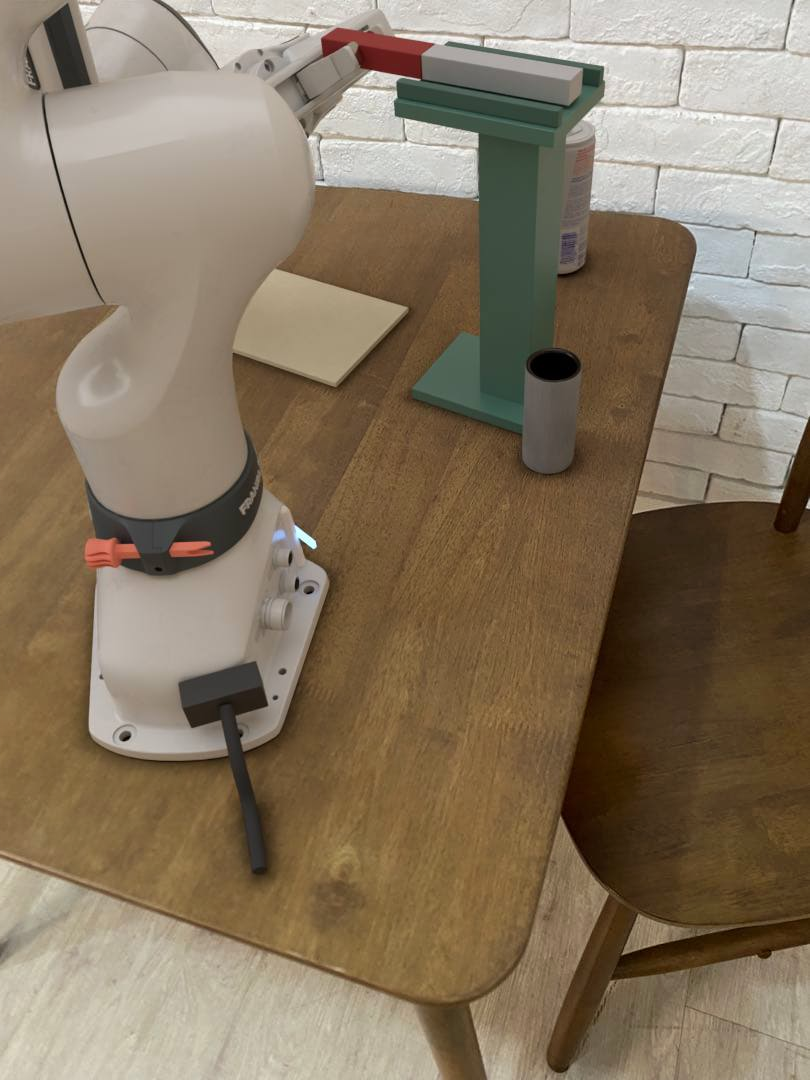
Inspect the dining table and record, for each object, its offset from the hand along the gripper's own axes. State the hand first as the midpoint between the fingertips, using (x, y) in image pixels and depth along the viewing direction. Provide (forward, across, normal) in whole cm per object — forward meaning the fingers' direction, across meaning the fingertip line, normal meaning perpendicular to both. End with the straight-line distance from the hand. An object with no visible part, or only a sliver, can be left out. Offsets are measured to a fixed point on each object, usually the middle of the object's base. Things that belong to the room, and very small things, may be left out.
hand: (369, 44), depth 72 cm
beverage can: (-8, +22, +30) cm, 38 cm away
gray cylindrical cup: (+2, -6, +36) cm, 36 cm away
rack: (-5, 0, +31) cm, 32 cm away
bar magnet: (+5, 0, +5) cm, 7 cm away
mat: (-28, 0, +18) cm, 33 cm away
